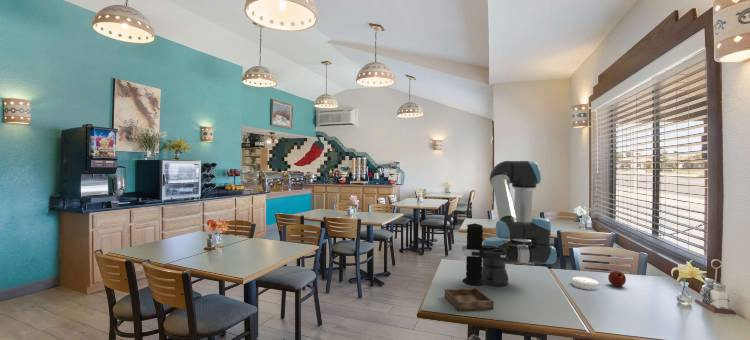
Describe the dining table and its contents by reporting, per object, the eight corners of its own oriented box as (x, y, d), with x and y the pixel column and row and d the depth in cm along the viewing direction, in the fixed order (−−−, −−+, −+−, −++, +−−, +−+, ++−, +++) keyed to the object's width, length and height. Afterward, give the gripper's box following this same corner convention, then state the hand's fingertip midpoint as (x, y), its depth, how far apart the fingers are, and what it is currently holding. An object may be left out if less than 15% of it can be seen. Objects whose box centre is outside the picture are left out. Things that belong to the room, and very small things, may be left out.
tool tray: (476, 295, 164) (476, 287, 164) (493, 309, 148) (493, 301, 148) (444, 296, 161) (444, 289, 161) (458, 311, 146) (458, 303, 146)
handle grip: (485, 287, 147) (485, 279, 157) (486, 226, 147) (486, 222, 156) (461, 284, 150) (462, 277, 160) (462, 224, 150) (464, 220, 159)
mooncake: (566, 284, 182) (566, 277, 182) (581, 281, 187) (581, 274, 187) (588, 291, 171) (588, 284, 171) (604, 288, 176) (604, 281, 176)
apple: (610, 287, 178) (610, 271, 178) (606, 282, 185) (606, 267, 185) (627, 289, 175) (627, 273, 175) (622, 284, 182) (623, 269, 182)
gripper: (511, 239, 160) (461, 237, 164) (523, 250, 141) (465, 247, 144) (511, 255, 160) (460, 253, 164) (522, 268, 141) (464, 265, 144)
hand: (462, 250), depth 154 cm, fingers closed on handle grip, 7 cm apart
